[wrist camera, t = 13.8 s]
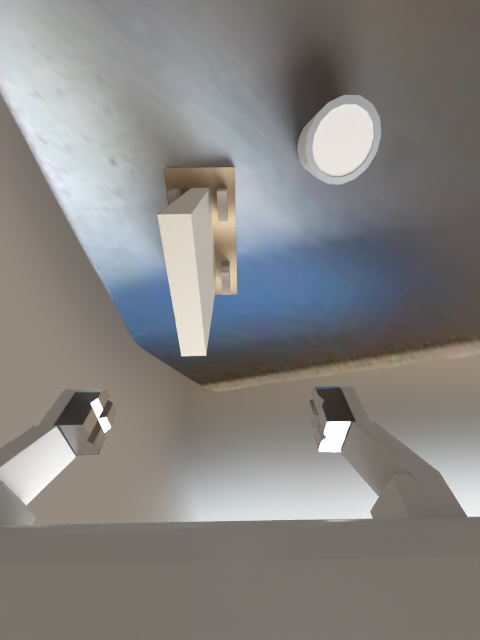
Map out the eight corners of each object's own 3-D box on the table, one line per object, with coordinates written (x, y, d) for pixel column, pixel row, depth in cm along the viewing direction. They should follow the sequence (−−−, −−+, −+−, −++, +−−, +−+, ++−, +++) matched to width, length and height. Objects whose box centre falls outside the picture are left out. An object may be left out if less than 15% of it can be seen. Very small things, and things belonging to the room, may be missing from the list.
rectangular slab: (182, 187, 30) (141, 214, 17) (210, 187, 31) (191, 213, 17) (193, 282, 37) (170, 356, 23) (216, 282, 37) (205, 355, 23)
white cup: (360, 156, 30) (391, 156, 24) (306, 191, 32) (322, 199, 26) (339, 90, 27) (368, 72, 21) (281, 133, 29) (292, 128, 23)
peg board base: (166, 167, 31) (154, 170, 26) (234, 166, 31) (234, 168, 26) (183, 290, 39) (176, 308, 35) (236, 289, 39) (237, 307, 35)
